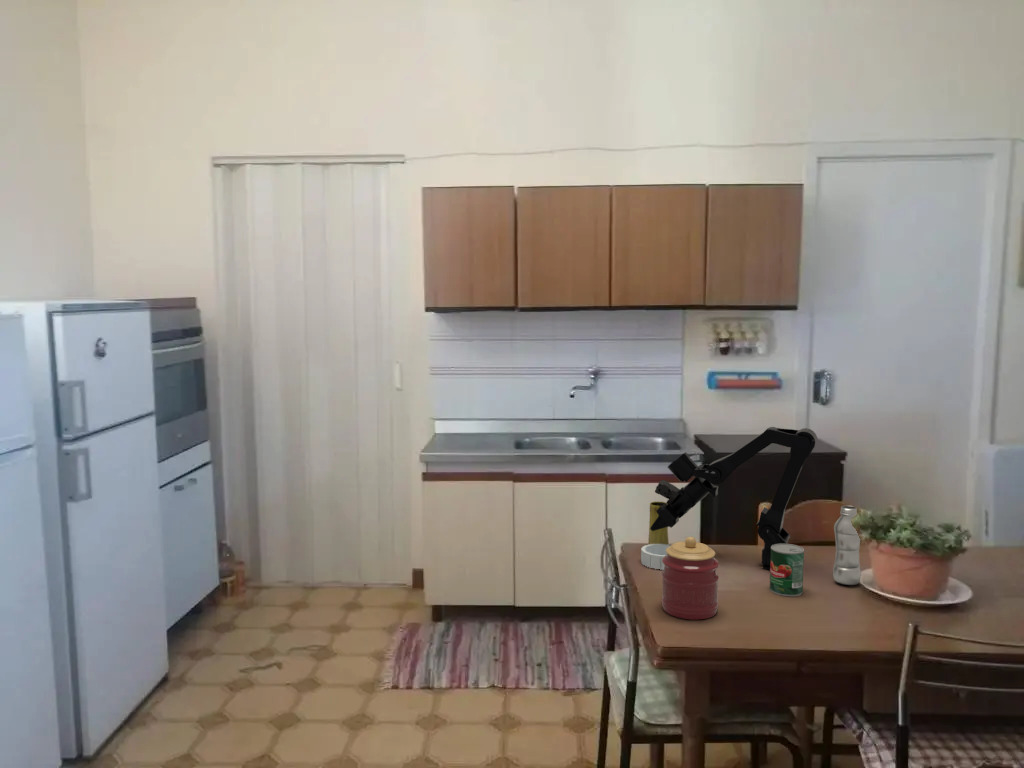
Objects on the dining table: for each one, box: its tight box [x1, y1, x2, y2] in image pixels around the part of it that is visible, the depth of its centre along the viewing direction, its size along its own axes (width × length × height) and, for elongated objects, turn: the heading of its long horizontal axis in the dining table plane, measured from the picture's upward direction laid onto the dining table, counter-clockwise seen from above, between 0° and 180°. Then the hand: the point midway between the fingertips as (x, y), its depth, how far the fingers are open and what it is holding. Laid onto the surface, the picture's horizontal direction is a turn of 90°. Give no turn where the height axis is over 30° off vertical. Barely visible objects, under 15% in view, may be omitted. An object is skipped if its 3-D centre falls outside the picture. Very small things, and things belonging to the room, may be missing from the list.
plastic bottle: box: [832, 505, 862, 586], centre depth 195 cm, size 6×7×20 cm
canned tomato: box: [769, 543, 805, 597], centre depth 191 cm, size 8×8×11 cm
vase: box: [647, 501, 670, 545], centre depth 223 cm, size 6×6×14 cm
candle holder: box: [640, 544, 673, 571], centre depth 212 cm, size 11×11×4 cm
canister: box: [661, 536, 720, 621], centre depth 179 cm, size 13×13×18 cm
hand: (653, 527), depth 223 cm, fingers closed on vase, 5 cm apart
